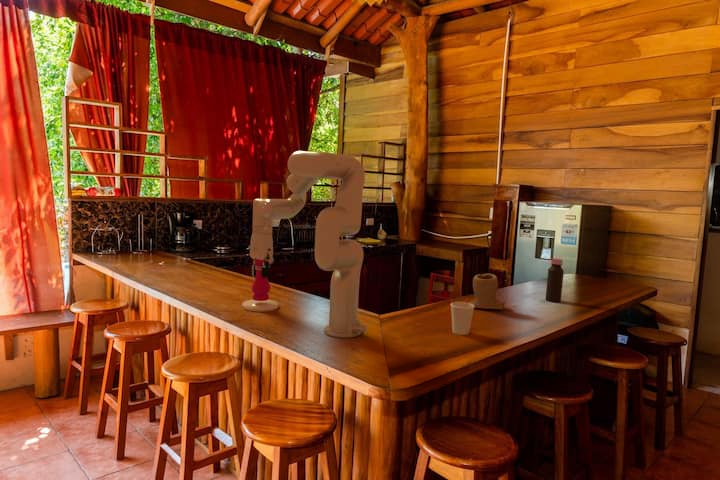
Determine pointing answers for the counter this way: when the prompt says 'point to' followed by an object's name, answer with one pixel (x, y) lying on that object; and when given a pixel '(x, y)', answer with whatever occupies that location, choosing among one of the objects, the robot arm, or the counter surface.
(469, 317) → the dixie cup
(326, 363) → the counter surface
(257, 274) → the pepper mill
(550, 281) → the bottle
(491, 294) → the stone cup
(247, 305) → the disc
